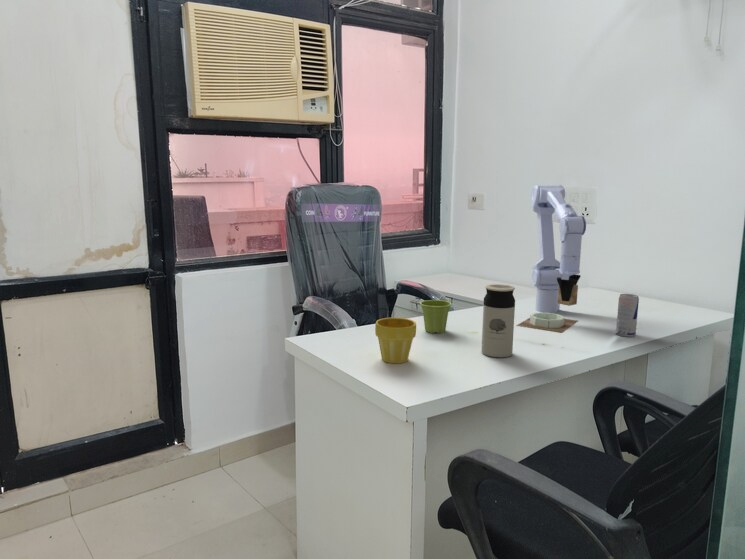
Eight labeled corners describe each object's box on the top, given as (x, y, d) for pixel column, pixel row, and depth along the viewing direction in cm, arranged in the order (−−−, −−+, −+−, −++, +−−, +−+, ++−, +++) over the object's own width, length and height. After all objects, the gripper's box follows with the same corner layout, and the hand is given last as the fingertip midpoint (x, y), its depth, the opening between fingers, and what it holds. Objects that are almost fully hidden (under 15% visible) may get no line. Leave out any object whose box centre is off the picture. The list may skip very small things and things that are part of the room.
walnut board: (535, 317, 185) (535, 314, 185) (578, 323, 177) (578, 320, 177) (515, 328, 170) (515, 325, 170) (561, 336, 162) (561, 332, 162)
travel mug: (487, 347, 151) (490, 282, 148) (515, 352, 147) (519, 285, 144) (477, 355, 144) (480, 287, 141) (507, 360, 140) (510, 290, 137)
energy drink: (637, 334, 164) (641, 295, 162) (631, 338, 161) (635, 298, 158) (619, 331, 168) (622, 292, 166) (613, 334, 164) (616, 295, 162)
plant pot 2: (413, 331, 167) (413, 303, 165) (431, 325, 174) (432, 298, 172) (438, 337, 161) (439, 308, 159) (456, 330, 168) (457, 302, 166)
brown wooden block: (565, 301, 174) (566, 283, 173) (576, 304, 171) (578, 285, 170) (557, 303, 172) (559, 284, 171) (568, 305, 169) (570, 286, 168)
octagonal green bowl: (536, 318, 179) (537, 311, 179) (566, 322, 174) (567, 315, 173) (526, 324, 171) (526, 317, 171) (557, 329, 166) (558, 321, 166)
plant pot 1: (423, 361, 139) (424, 323, 137) (390, 368, 133) (390, 329, 131) (399, 350, 147) (400, 315, 146) (367, 357, 142) (367, 320, 140)
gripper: (561, 252, 177) (558, 293, 179) (552, 257, 164) (549, 302, 167) (584, 253, 174) (581, 296, 176) (577, 259, 161) (573, 304, 163)
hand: (567, 299), depth 171 cm, fingers closed on brown wooden block, 5 cm apart
